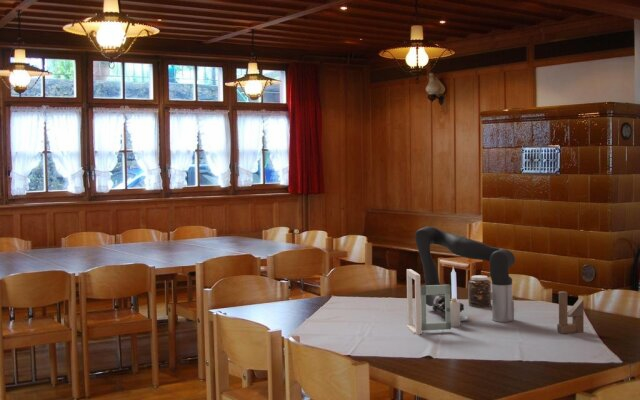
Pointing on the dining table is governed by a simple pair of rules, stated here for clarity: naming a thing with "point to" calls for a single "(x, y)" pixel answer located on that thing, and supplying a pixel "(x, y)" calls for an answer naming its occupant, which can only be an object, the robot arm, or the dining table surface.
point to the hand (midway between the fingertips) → (451, 309)
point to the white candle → (455, 312)
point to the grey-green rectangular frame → (445, 290)
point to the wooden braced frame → (570, 315)
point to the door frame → (415, 328)
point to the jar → (479, 291)
